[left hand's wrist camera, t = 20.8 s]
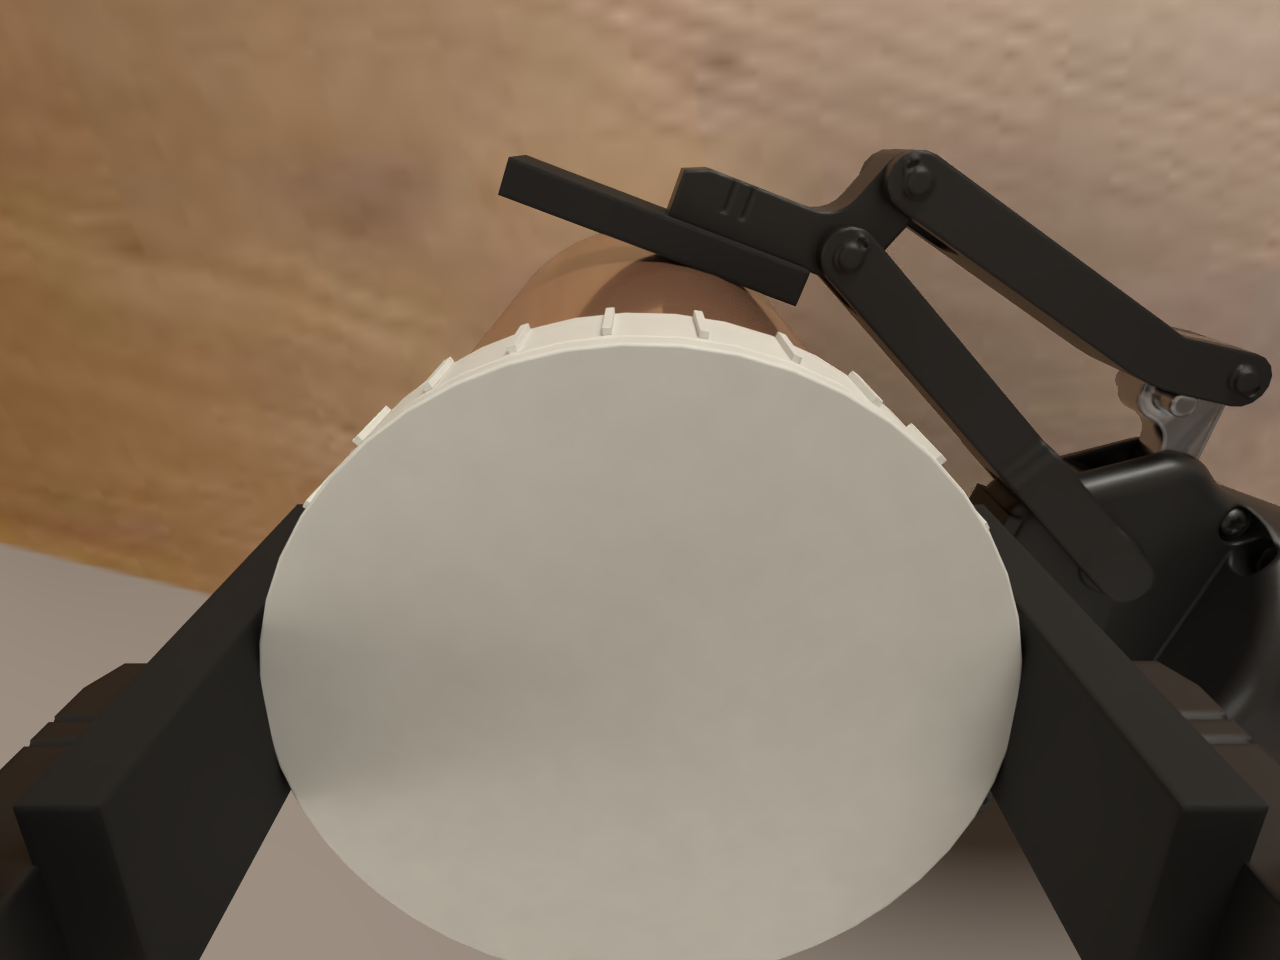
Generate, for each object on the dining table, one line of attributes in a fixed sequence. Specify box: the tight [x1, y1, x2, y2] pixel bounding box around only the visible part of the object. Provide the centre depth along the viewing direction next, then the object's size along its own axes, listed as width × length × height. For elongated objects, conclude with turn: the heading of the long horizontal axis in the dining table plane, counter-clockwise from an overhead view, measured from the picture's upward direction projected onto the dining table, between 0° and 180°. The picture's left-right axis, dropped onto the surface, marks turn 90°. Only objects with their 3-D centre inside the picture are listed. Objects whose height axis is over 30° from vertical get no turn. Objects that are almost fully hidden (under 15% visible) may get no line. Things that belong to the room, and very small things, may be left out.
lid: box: [260, 307, 1022, 960], centre depth 11 cm, size 10×10×2 cm
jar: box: [470, 234, 810, 354], centre depth 19 cm, size 9×9×15 cm
